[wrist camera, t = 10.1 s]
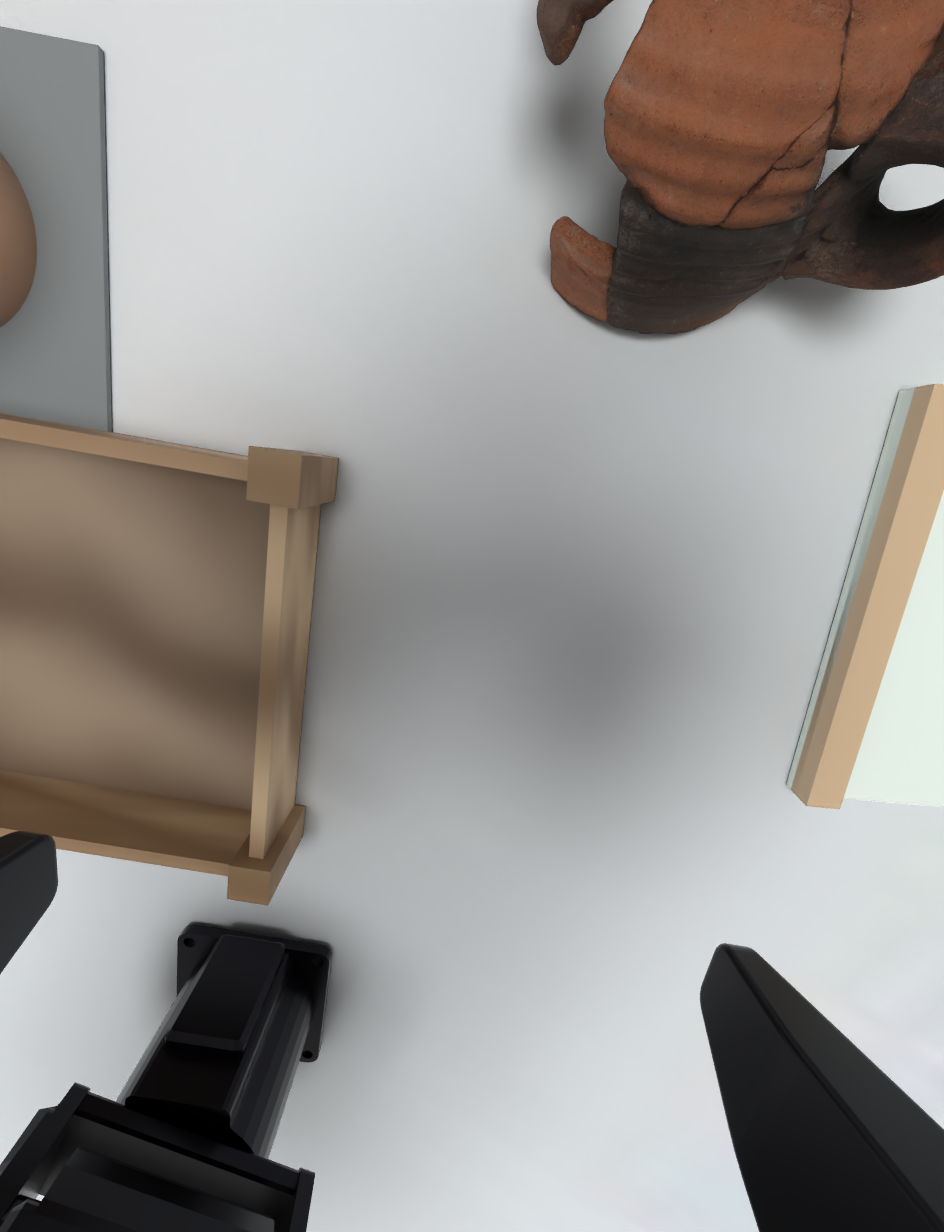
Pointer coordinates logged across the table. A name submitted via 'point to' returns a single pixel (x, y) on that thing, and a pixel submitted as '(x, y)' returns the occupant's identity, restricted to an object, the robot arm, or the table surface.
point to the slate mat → (58, 230)
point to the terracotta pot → (15, 244)
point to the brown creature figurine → (756, 154)
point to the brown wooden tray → (156, 647)
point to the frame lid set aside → (887, 635)
